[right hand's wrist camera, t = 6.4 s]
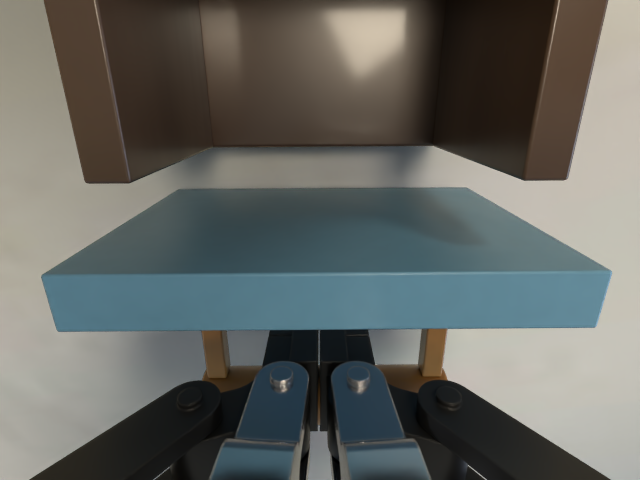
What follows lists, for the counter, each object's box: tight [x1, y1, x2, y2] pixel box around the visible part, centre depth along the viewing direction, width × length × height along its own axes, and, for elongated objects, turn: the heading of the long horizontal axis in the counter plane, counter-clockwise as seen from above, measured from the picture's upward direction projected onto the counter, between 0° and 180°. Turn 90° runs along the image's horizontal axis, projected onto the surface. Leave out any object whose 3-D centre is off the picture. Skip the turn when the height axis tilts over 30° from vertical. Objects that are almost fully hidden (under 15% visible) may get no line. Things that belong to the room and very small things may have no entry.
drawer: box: [41, 0, 612, 425], centre depth 9 cm, size 21×10×7 cm, turn 0°
